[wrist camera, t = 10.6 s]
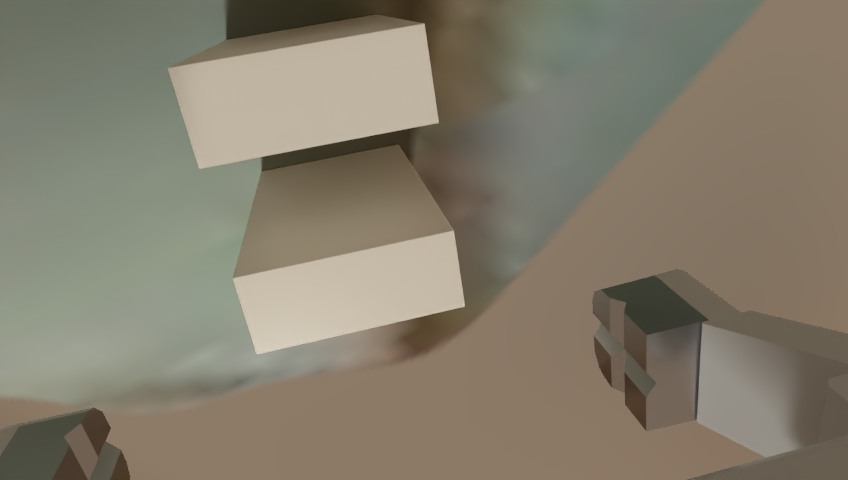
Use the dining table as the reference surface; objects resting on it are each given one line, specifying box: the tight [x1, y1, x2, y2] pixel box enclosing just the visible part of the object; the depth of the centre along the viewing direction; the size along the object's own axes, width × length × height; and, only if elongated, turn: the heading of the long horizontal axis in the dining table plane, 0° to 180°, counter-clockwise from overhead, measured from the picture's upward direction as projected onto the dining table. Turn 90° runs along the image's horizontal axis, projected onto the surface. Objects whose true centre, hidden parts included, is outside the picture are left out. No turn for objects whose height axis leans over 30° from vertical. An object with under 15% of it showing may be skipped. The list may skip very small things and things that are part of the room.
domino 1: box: [168, 14, 439, 169], centre depth 16 cm, size 2×5×9 cm, turn 99°
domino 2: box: [233, 144, 465, 354], centre depth 18 cm, size 2×5×9 cm, turn 99°
